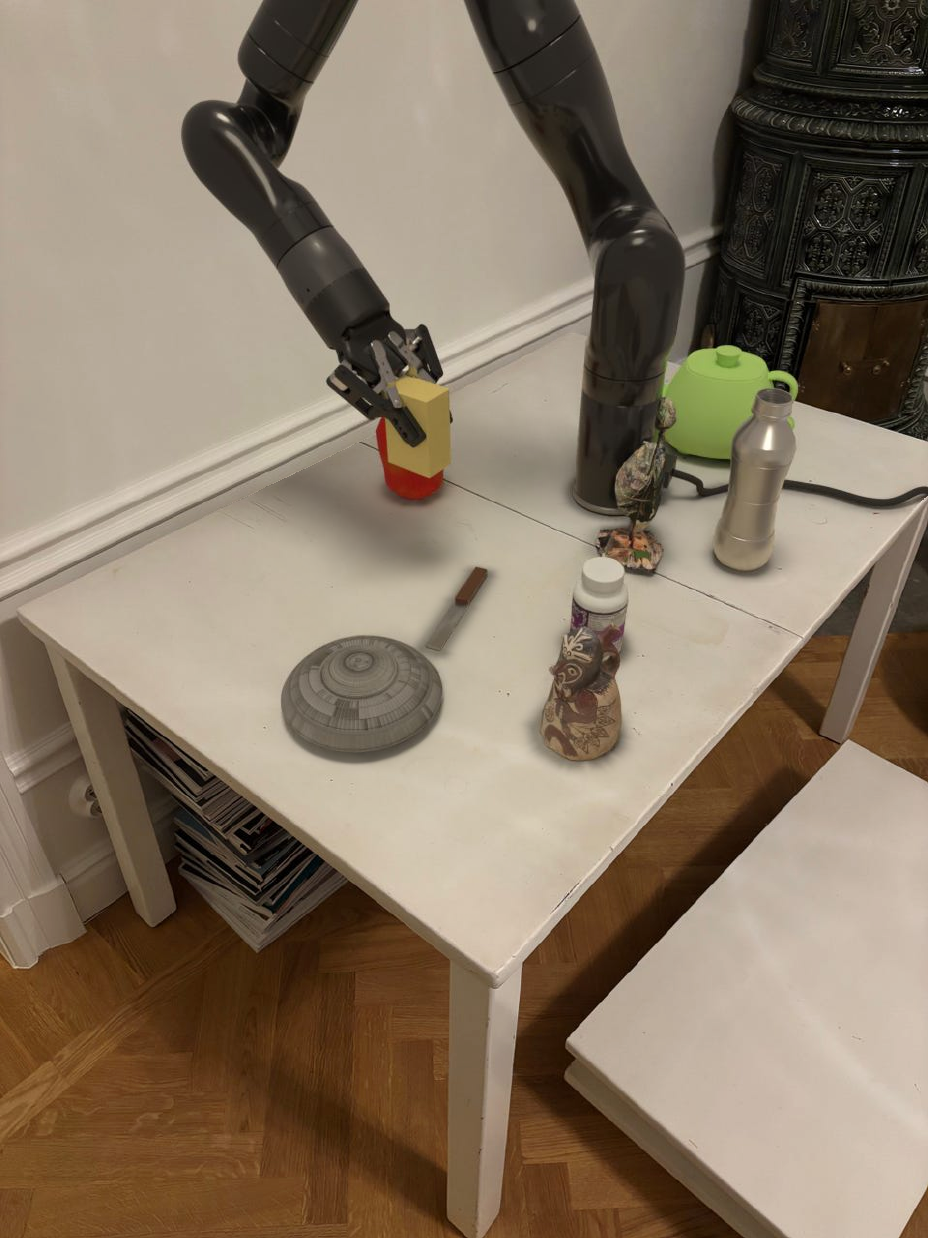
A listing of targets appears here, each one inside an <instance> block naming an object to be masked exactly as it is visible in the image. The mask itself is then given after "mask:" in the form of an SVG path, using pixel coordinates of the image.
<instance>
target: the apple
mask: <svg viewBox="0 0 928 1238" xmlns="http://www.w3.org/2000/svg"><path fill="white" fill-rule="evenodd" d="M375 437H376V443H377V444H376V445H377V450H378V454H379V457H380V461H381V465H382V468H383V469H382V470H383V476H384V482H385V485H386V487H387V488H388V489H390V490H391V491H392V492H394V493H395V494H397V495H398V496H400V497H401V498H405V499H408V500H413V501H415V500H423V499H426V498H428V497H430V496H432V495H433V494H435V493H436V492H437V491H438V490H440V489H441V487H442V485H443V483H444V469H443V470H441V471H440V472H438V473H437V474H435V475H434V476H432V477H431V478H427V477H425V476H422V475H420V474H417V473H415V472H412V471H410V470H407V469H405V468H402V467H400V466H397V465H395V464H392V463H390V462H388V452H387V438H386V424H385V418H384V417H380V419H379V421H378V424H377V426H376V429H375Z"/></svg>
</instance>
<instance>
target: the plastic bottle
mask: <svg viewBox="0 0 928 1238" xmlns="http://www.w3.org/2000/svg"><path fill="white" fill-rule="evenodd" d="M793 405H794V403H793V396H792V395H791V394H790V393H789V391H786V390H784V389H781V388H776V387H774V388H764V389H761V390H758V391H757V392H756V395H755V399H754V403H753V404H752V408H751V412H752V413H753V415H751V416H750V417H749V418H747V419H746V420H745V421H744V422H743V423H742V424H741V425H740V426H739V427H738V428H737V429H736V431H735V433H734V435H733V437H732V441H731V460H730V463H729V465H730V466H729V467H730V468H729V469H730V470H729V478H728V484H729V486H728V491H727V492H726V497H725V501H724V503H723V504H724V505H723V508H722V511H721V515H720V518H719V519H718V522H717V524H716V526H715V530H714V532H713V535H712V538H713V539H712V549H713V553H714V555H715V556H716V558H717V560H718V561H719V562H720V563H721V564H723V565H724V566H726V567H728V568H731V569H733V570H738V571H745V572H747V571H754V570H755V571H756V570H757V569H760V568H761V567H762V566H763V565H765V564H766V563H767V562H769V560H770V558H771V555H772V554H773V551H774V548H775V539H776V537H775V536H776V533H775V532H776V531H775V525H776V519H777V511H778V503H779V499H780V496H781V492H782V489H783V487H782V486H783V483H784V480H786V477H787V475H788V472H789V470H790V468H791V465H792V462H793V460H794V457H795V455H796V451H797V439H796V436H795V434H794V431H793V430H792V428H791V427H790V425H789V423H788V421H787V419H789V418H790V417H792V408H793Z"/></svg>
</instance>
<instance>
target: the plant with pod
mask: <svg viewBox="0 0 928 1238" xmlns="http://www.w3.org/2000/svg"><path fill="white" fill-rule="evenodd" d="M676 419H677V414H676V409H675V407H674V404H673V402H672V400H671V399H669V397H667V396H666V397H663V398H661V399H660V400H659V402H658V406H657V414H656V420H655V428H656V429H657V430H659V433H658V437H659V438H658V442H655V443H646V444H645V445H643V446H642V447H641V448H639V449H638V450H636V451H635V452H634V454H633V455H632V456H631V457H630V458H629V459H628V460H627V461H626V462H625V463H624V464H623V466H622V467H621V468H620V470H619V472H618V474H617V475H616V482H615V495H616V501H617V506H618V508H619V509H620V511H621V512H622V514H621V515H623V516H625V517H627V518H629V519H630V520H629V524H628V530H626V529H625V528H623V527H620V528H615V529H612V528H610V529H609V528H607V529H605V528H603V529H599V531H598V534H597V538H596V539H595V546H597V548H598V549H599V550H598V551H597V552H598V553H599V554H600V555H601V556H600V557H607V558H611V559H614V560H616V561H618V562H619V563H621V564H622V566H623V567H624V568H625V567H627V568H632V570H638V571H639V570H640V571H642V572H643V573H647V574H649V573H653V572H655V571H656V570H657V567H658V564H659V562H660V560H661V558H662V555H664V551H665V548H664V545H663V543H661V542H659V541H658V539H657V536H655V533H653V532H652V531H651V530H645V528H646V527H647V526H648V525H649V524H650V523H651V522H652V521H653V520H654V519H655V517H656V515H657V512H658V510H659V508H660V506H661V503H662V498H663V497H662V496H663V488H662V487H663V483H664V477H665V471H666V462H667V458H666V454H667V452H666V446H665V445H664V444H662V443H661V440H662V442H667V443H668V442H669V440H666V439H665V434H666V430H667V429H670V428H671V427H672V426H673V425H674V424H675V422H676Z"/></svg>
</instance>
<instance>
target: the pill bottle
mask: <svg viewBox="0 0 928 1238" xmlns="http://www.w3.org/2000/svg"><path fill="white" fill-rule="evenodd" d="M629 596H630V595H629V589H628V586H627V585H626V583H625V567H624V566H623V564H622V563H619V562H618V561H616V560H614V559H611V558H607V557H601V556H596V557H592V558H590V559H588V560H586V561H585V562H584V563H583V565H582V569H581V577H580V578H579V580H577V582H576V583H575V585H574V587H573V591H572V600H571V611H570V612H571V614H570V628H569V633H570V632H571V631H573V630H574V629H576V628H578V627H582V626H586V627H589V628H591V629H592V630H593V631H594V632H595V633H596V635H598V634H599V633H601V632H602V631H603V630H604V629H605V628H606V627H608V626H609V625H610V624H611V623H613V624H614V625H615V626H616V627H618V628H619V629H620V632H619V633H618V634H617V635H616V636H615V638H614V639H613V640H612V641H611V642H612V643H613V644H614V646H615V647H616V649H617V650H618V653H620V651H621V649H622V646H623V641H624V635H625V634H624V633H625V626H626V619H627V613H628V604H629ZM608 658H609V656H606V657H604V658H603V660H602V661H606V660H607V659H608Z"/></svg>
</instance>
